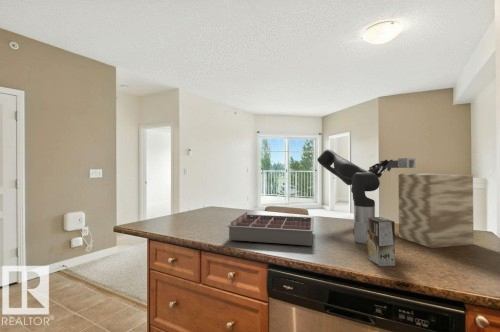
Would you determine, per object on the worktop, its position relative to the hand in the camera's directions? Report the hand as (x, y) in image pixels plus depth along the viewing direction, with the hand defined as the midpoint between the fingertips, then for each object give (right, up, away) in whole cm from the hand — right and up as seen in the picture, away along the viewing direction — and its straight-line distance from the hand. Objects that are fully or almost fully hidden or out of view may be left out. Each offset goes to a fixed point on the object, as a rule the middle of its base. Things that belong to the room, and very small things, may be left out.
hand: (389, 161), depth 143 cm
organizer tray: (-67, -40, -12) cm, 79 cm away
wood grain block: (+11, -39, -20) cm, 45 cm away
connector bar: (+1, -4, -4) cm, 6 cm away
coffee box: (-30, -39, -47) cm, 68 cm away
